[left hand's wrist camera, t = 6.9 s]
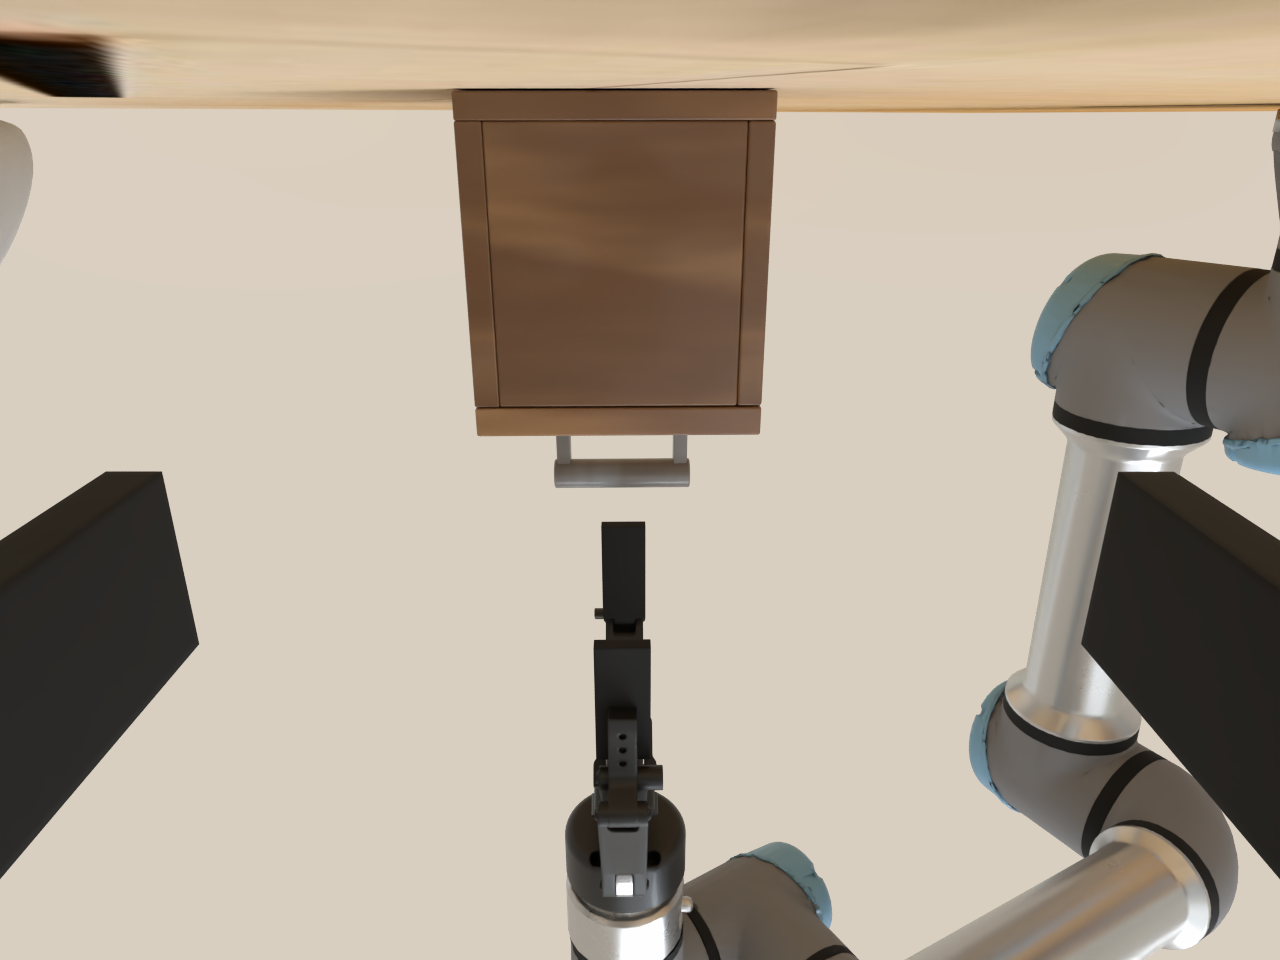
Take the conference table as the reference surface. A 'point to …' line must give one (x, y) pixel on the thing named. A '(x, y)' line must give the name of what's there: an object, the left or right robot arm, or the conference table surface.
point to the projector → (13, 182)
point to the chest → (616, 244)
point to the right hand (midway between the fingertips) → (622, 575)
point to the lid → (619, 422)
